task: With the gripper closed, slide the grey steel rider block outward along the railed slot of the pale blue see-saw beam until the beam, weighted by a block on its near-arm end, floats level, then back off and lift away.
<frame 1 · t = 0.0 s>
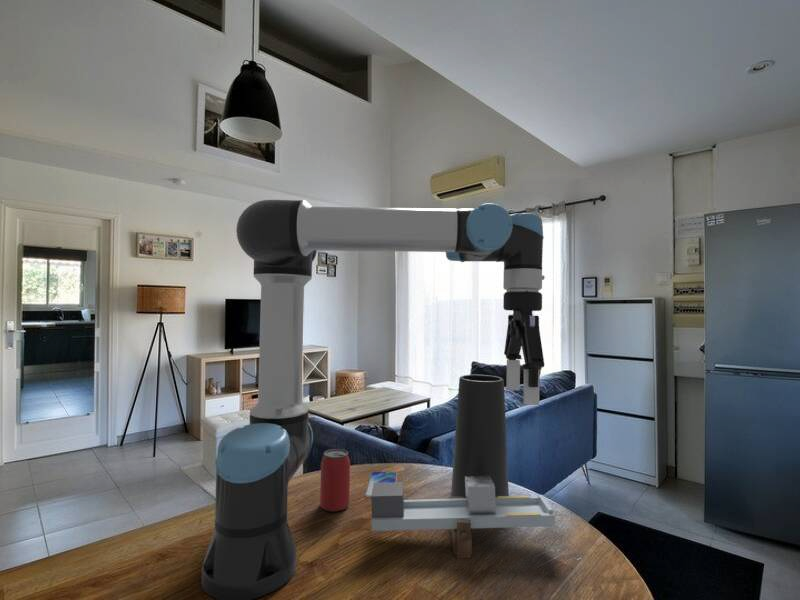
hand: (521, 396, 83), 28 cm above the table, fingers open, 13 cm apart
vase: (479, 499, 99), on the table
beer can: (334, 506, 94), on the table
smartphone: (381, 487, 105), on the table
beam: (460, 519, 80), point 4 cm above the table, hinge at -3.3°, touching rider
fulcrum: (460, 541, 80), on the table
rider: (480, 512, 80), point 6 cm above the table, touching beam
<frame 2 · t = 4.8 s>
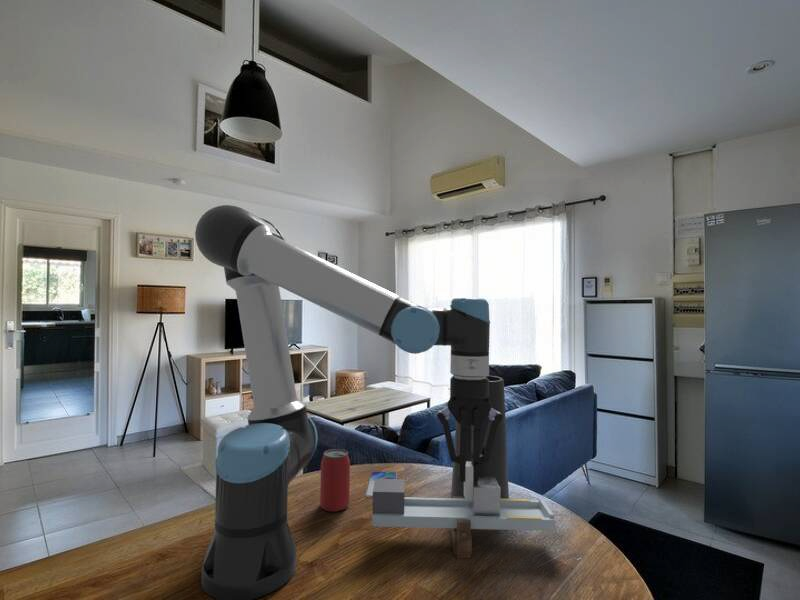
hand: (468, 497, 80), 9 cm above the table, fingers closed
beam: (460, 519, 80), point 4 cm above the table, hinge at -0.4°
rider: (484, 513, 80), point 6 cm above the table, touching gripper
everything else where it was.
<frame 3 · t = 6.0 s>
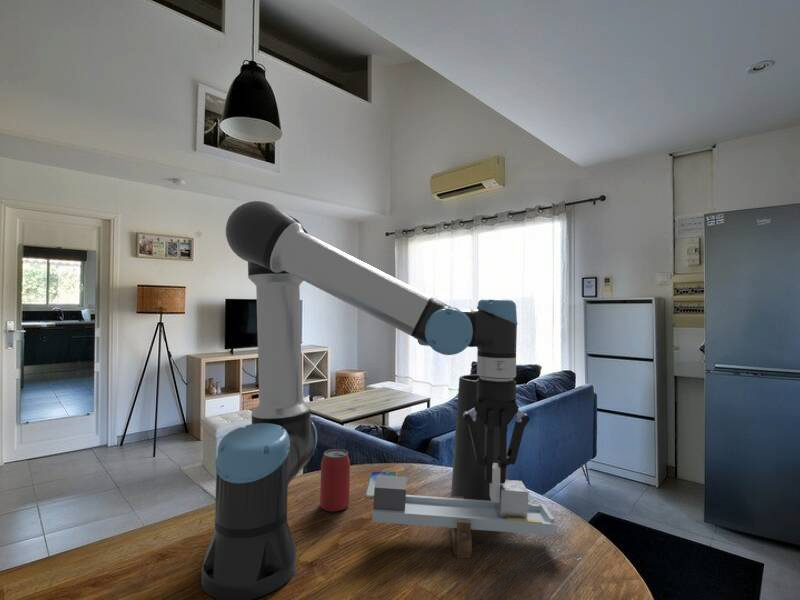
hand: (494, 499, 80), 8 cm above the table, fingers closed
beam: (460, 519, 80), point 4 cm above the table, hinge at 2.4°, touching rider
rider: (510, 516, 80), point 5 cm above the table, touching beam, gripper
everything else where it was.
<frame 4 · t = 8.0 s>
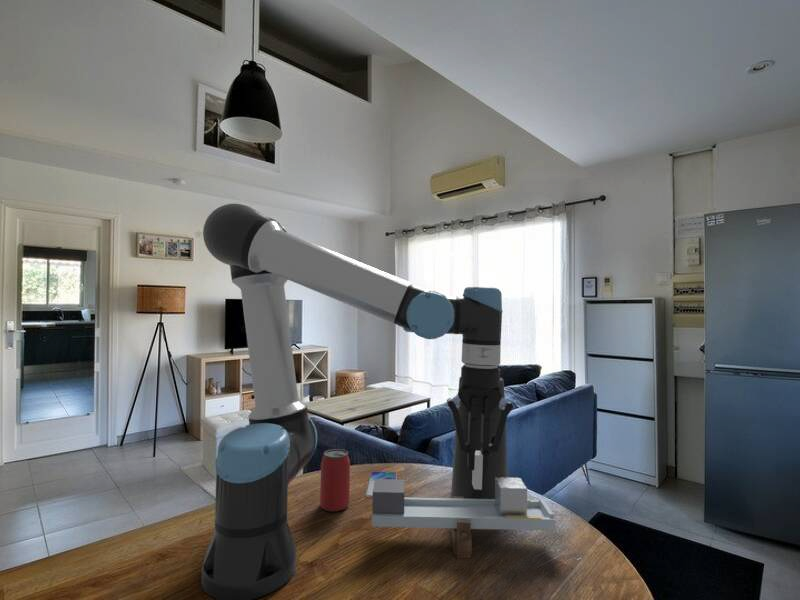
hand: (476, 486, 80), 11 cm above the table, fingers closed
beam: (460, 519, 80), point 4 cm above the table, hinge at -0.6°, touching rider
rider: (510, 513, 80), point 6 cm above the table, touching beam
everything else where it was.
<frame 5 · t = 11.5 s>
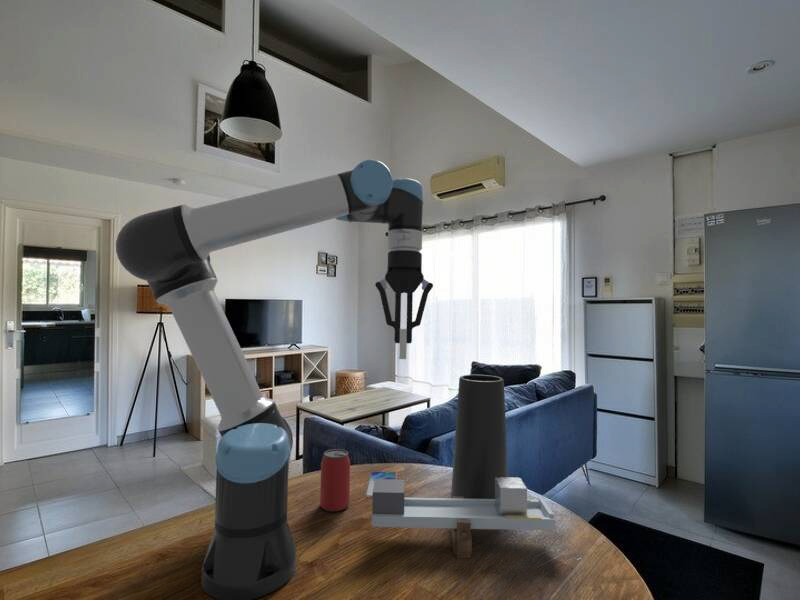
hand: (402, 358, 90), 34 cm above the table, fingers closed
nothing on the table moved.
at the end: beam at -1° (first picture: -3°); rider 1.6 cm from the target spot on the beam, point 1.4 cm above the beam's base; rider tilted 1° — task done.
